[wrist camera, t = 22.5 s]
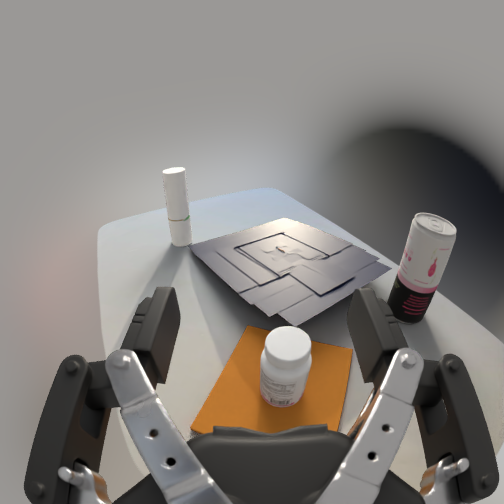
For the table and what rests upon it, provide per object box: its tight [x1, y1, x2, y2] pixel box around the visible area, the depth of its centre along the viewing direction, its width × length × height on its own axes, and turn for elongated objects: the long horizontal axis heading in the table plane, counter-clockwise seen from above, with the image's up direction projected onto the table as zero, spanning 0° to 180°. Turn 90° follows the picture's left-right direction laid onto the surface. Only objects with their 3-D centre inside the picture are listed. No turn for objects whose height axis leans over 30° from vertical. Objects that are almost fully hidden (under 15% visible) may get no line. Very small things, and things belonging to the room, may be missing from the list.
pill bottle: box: [260, 326, 312, 407], centre depth 25 cm, size 5×5×8 cm
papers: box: [188, 218, 392, 327], centre depth 47 cm, size 24×30×4 cm
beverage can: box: [387, 213, 456, 324], centre depth 33 cm, size 6×6×15 cm
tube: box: [162, 167, 193, 247], centre depth 52 cm, size 4×4×15 cm
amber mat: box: [190, 325, 353, 434], centre depth 27 cm, size 16×14×1 cm
